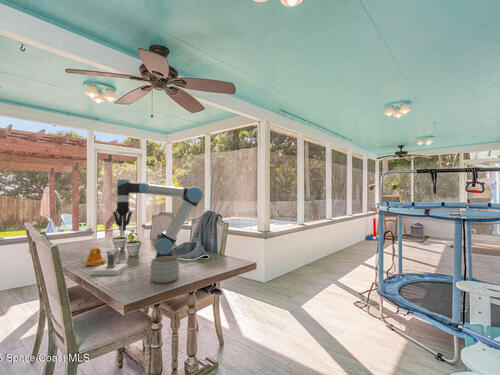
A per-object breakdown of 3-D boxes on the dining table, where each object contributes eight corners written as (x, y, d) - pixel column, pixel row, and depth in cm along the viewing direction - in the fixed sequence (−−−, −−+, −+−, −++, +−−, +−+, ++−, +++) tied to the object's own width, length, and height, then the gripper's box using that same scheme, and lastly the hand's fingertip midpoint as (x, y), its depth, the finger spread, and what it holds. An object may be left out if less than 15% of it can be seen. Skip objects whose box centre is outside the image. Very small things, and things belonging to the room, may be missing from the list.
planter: (151, 285, 154) (152, 264, 154) (150, 277, 169) (150, 257, 169) (180, 282, 160) (180, 261, 161) (176, 274, 175) (176, 255, 176)
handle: (120, 266, 192) (120, 247, 192) (109, 273, 176) (109, 252, 176) (116, 266, 192) (117, 247, 192) (105, 273, 176) (106, 252, 176)
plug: (116, 270, 183) (116, 253, 183) (112, 272, 178) (112, 255, 178) (109, 270, 183) (109, 253, 183) (105, 272, 178) (105, 255, 178)
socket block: (127, 268, 189) (127, 263, 189) (116, 275, 173) (117, 270, 173) (105, 268, 188) (105, 263, 188) (92, 275, 172) (92, 270, 172)
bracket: (90, 266, 192) (91, 250, 192) (86, 265, 196) (86, 248, 196) (105, 263, 201) (106, 247, 201) (101, 262, 205) (101, 246, 205)
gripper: (134, 201, 188) (134, 234, 187) (116, 201, 187) (115, 234, 187) (130, 201, 180) (129, 236, 180) (110, 201, 180) (110, 236, 179)
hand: (122, 235), depth 183 cm, fingers closed
